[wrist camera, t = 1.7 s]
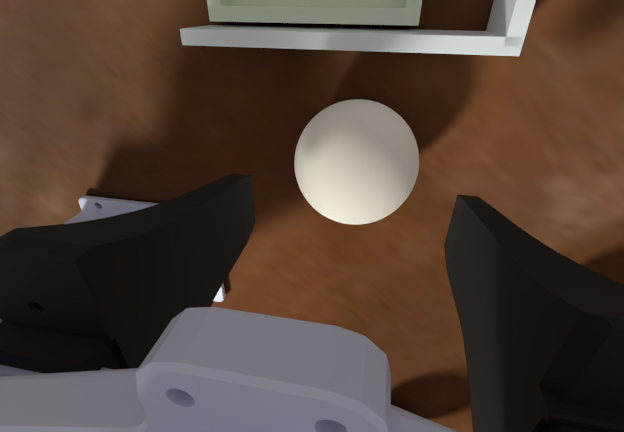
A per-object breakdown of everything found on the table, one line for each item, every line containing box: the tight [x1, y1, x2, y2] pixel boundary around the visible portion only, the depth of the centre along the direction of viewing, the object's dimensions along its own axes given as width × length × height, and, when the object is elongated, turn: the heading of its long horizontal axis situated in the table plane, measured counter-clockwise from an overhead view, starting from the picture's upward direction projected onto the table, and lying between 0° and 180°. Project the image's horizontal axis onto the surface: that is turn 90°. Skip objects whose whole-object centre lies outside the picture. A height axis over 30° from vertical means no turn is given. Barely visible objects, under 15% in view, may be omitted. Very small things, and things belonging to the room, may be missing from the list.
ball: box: [294, 99, 419, 224], centre depth 16 cm, size 6×6×6 cm
